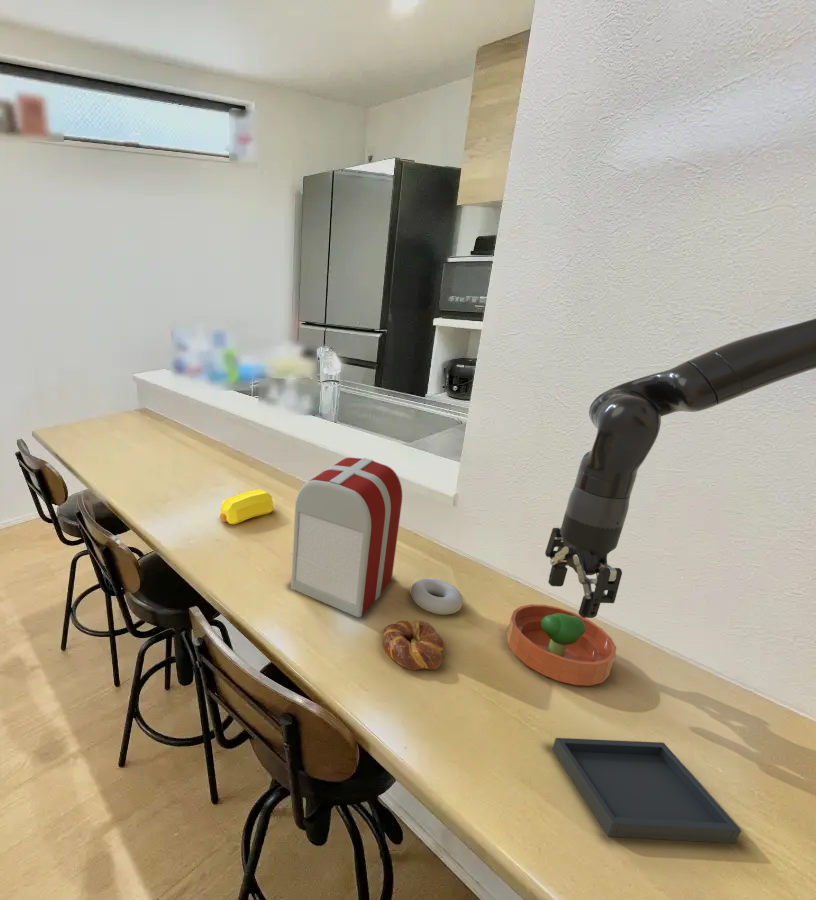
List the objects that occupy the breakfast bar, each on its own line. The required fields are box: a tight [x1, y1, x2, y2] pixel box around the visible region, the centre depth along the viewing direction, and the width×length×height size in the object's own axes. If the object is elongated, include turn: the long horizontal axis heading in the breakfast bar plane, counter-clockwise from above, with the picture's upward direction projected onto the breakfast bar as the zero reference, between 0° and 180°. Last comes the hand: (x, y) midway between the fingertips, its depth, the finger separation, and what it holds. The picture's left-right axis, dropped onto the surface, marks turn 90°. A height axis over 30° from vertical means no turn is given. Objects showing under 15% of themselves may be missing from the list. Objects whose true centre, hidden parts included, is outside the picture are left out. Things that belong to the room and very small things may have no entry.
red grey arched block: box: [290, 456, 403, 618], centre depth 104 cm, size 16×18×27 cm
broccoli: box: [541, 613, 585, 656], centre depth 86 cm, size 7×5×8 cm
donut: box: [410, 577, 464, 616], centre depth 101 cm, size 10×4×10 cm
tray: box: [552, 737, 742, 844], centre depth 64 cm, size 15×12×2 cm
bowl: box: [506, 603, 617, 687], centre depth 87 cm, size 15×15×5 cm
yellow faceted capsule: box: [219, 488, 274, 526], centre depth 138 cm, size 18×7×8 cm
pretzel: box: [381, 620, 445, 671], centre depth 89 cm, size 12×11×4 cm
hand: (569, 599), depth 84 cm, fingers open, 8 cm apart
